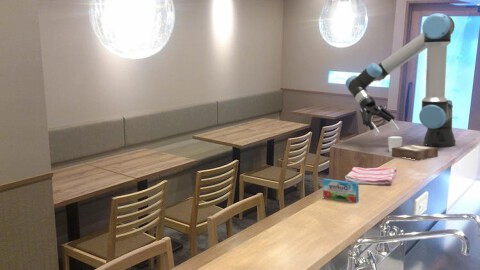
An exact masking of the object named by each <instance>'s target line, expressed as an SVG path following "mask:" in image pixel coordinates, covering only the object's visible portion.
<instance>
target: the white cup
mask: <svg viewBox="0 0 480 270" xmlns="http://www.w3.org/2000/svg"><path fill="white" fill-rule="evenodd" d="M387 143H388V151H389V152H390V153H392V148H394V147H400V146H403V136H398V135H395V136H393V135H392V136H391V135H390V136H388V137H387Z"/></svg>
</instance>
